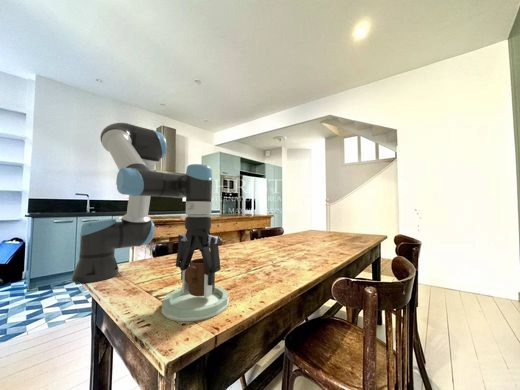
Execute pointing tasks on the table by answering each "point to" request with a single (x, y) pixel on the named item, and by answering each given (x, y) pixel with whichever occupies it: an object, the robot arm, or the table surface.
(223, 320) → the table surface
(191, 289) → the mug
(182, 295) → the shallow round dish
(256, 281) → the table surface
